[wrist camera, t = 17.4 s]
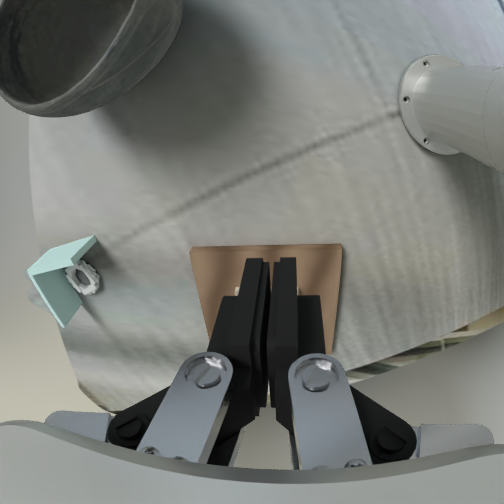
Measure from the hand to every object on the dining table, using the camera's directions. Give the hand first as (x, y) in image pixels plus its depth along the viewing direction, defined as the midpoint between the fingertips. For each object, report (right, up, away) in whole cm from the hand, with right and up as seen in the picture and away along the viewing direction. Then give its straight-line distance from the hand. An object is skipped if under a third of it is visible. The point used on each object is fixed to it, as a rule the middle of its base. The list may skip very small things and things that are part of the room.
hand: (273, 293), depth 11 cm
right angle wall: (-29, -2, +37) cm, 47 cm away
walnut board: (+2, -6, +35) cm, 36 cm away
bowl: (-17, +29, +17) cm, 37 cm away
